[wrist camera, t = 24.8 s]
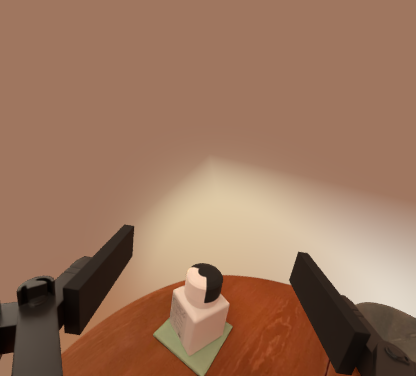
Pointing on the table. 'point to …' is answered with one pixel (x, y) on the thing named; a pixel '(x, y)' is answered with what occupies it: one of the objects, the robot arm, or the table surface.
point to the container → (199, 308)
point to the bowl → (392, 326)
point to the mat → (199, 359)
